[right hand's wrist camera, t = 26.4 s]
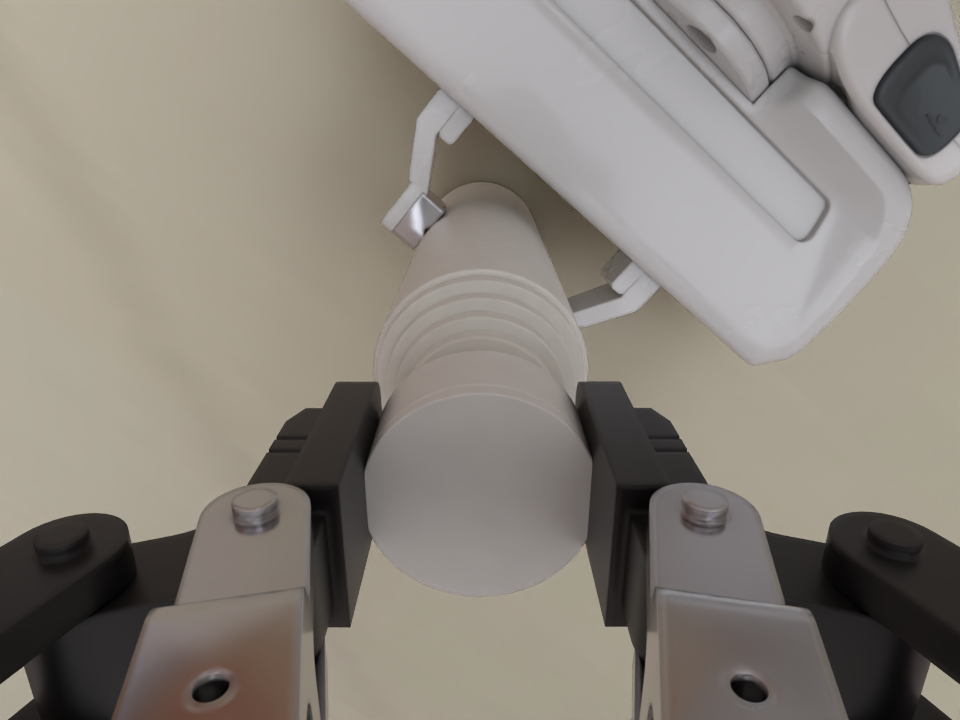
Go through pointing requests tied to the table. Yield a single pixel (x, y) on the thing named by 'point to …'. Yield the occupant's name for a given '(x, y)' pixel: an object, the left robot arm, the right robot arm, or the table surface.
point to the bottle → (481, 294)
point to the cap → (479, 475)
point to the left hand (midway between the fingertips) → (466, 290)
